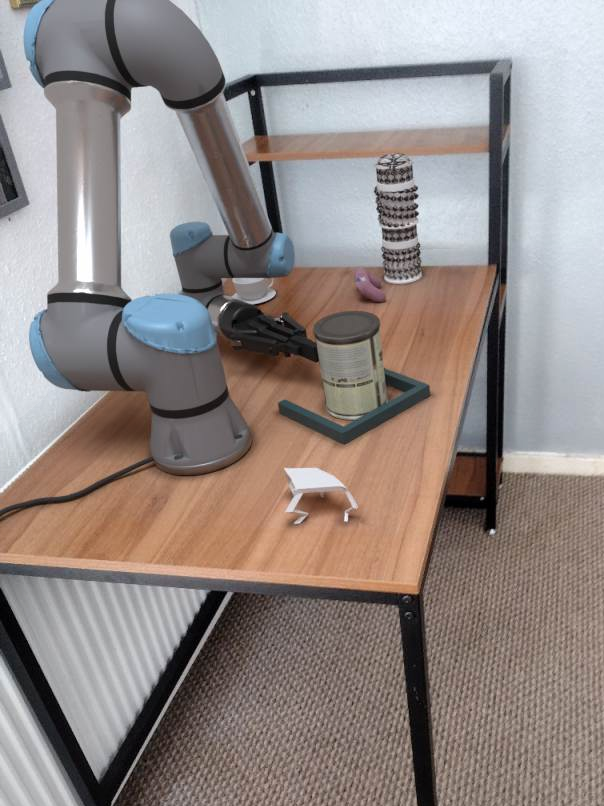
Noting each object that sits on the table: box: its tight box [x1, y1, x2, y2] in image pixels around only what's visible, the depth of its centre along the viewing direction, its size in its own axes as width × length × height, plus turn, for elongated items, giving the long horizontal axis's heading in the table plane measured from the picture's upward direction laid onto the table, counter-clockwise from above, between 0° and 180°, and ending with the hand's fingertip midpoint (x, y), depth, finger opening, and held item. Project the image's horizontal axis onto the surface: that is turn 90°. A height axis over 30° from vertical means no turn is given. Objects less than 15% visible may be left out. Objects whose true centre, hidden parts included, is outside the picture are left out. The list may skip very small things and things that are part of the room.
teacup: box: [231, 278, 277, 305], centre depth 171 cm, size 10×10×5 cm
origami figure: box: [283, 467, 359, 525], centre depth 104 cm, size 12×8×5 cm
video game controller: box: [352, 266, 387, 303], centre depth 165 cm, size 10×5×7 cm, turn 6°
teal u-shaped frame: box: [277, 367, 431, 445], centre depth 128 cm, size 16×19×2 cm
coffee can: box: [312, 310, 389, 421], centre depth 125 cm, size 10×10×14 cm
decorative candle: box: [373, 152, 423, 285], centre depth 167 cm, size 9×9×25 cm
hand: (318, 353), depth 129 cm, fingers closed
